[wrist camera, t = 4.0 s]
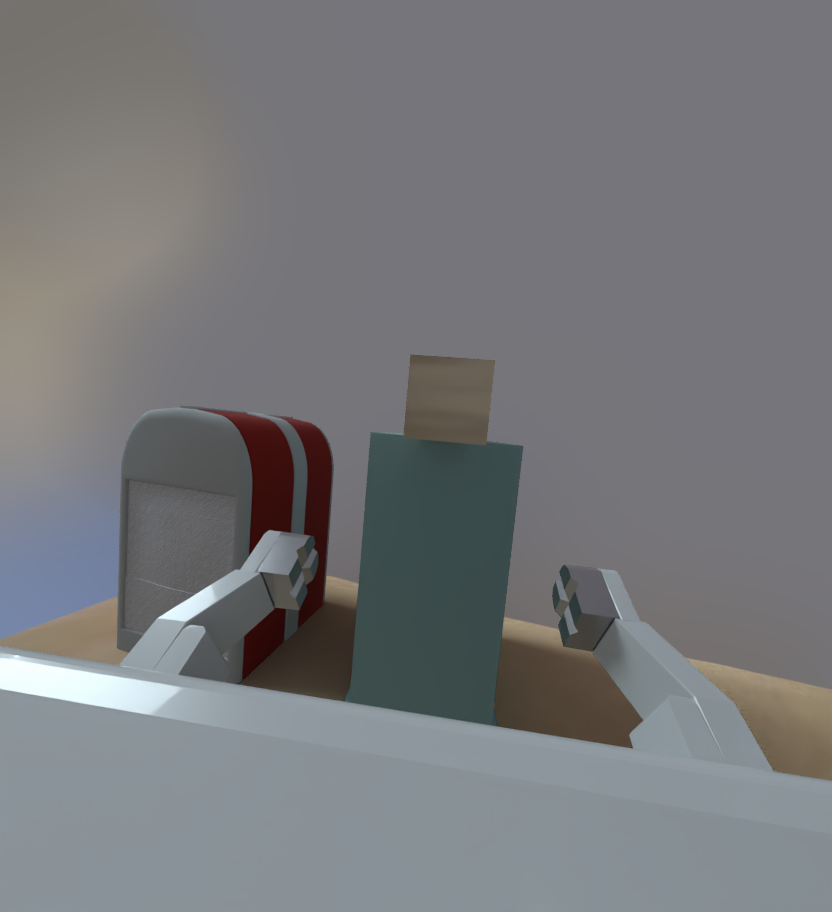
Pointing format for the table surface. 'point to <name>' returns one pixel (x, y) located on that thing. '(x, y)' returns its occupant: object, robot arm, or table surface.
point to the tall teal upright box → (434, 576)
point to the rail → (448, 399)
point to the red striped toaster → (217, 514)
